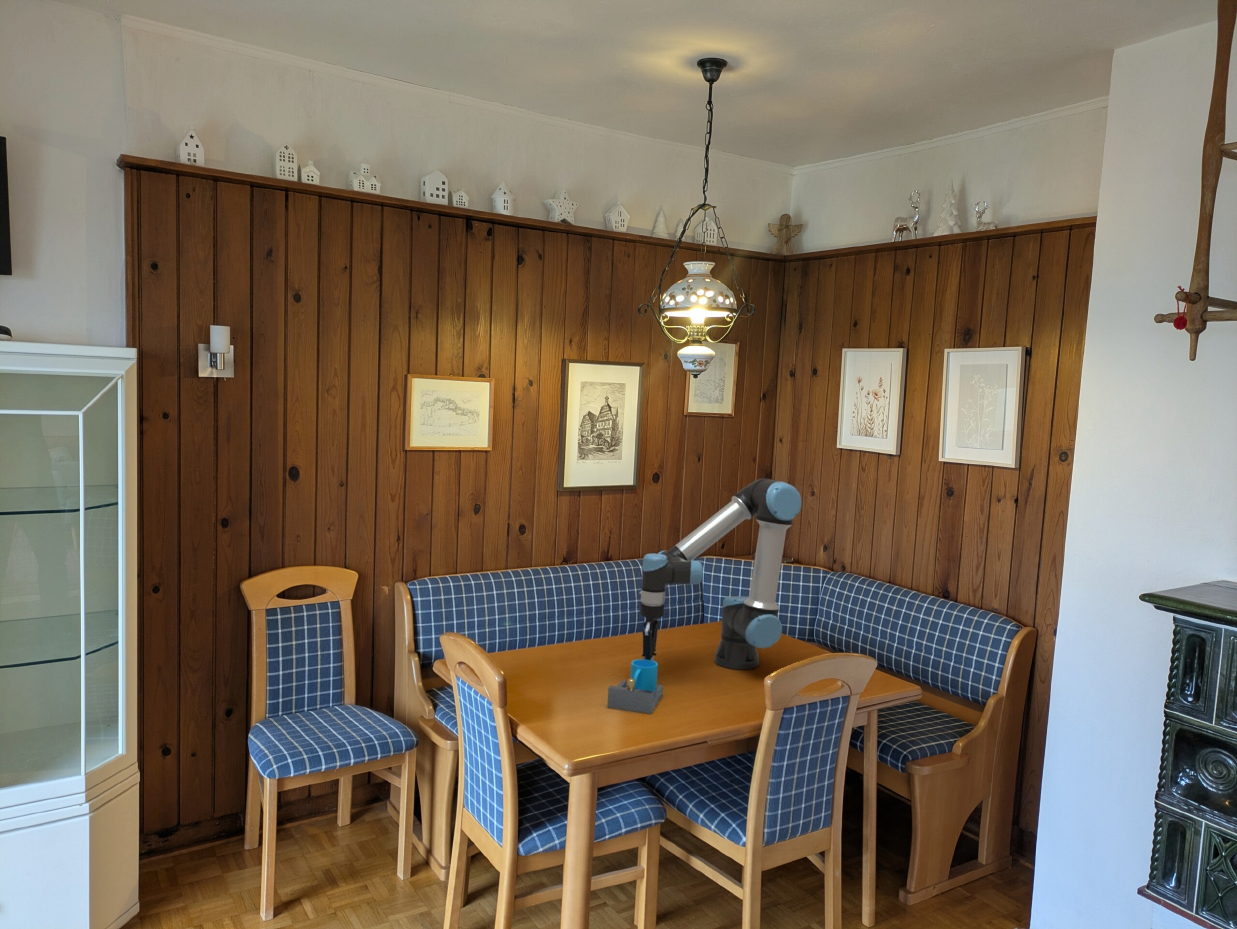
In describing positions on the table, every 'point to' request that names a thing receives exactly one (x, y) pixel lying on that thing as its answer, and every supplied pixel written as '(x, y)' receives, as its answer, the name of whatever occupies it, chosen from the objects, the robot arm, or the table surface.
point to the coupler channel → (633, 697)
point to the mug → (644, 674)
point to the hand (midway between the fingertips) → (647, 676)
